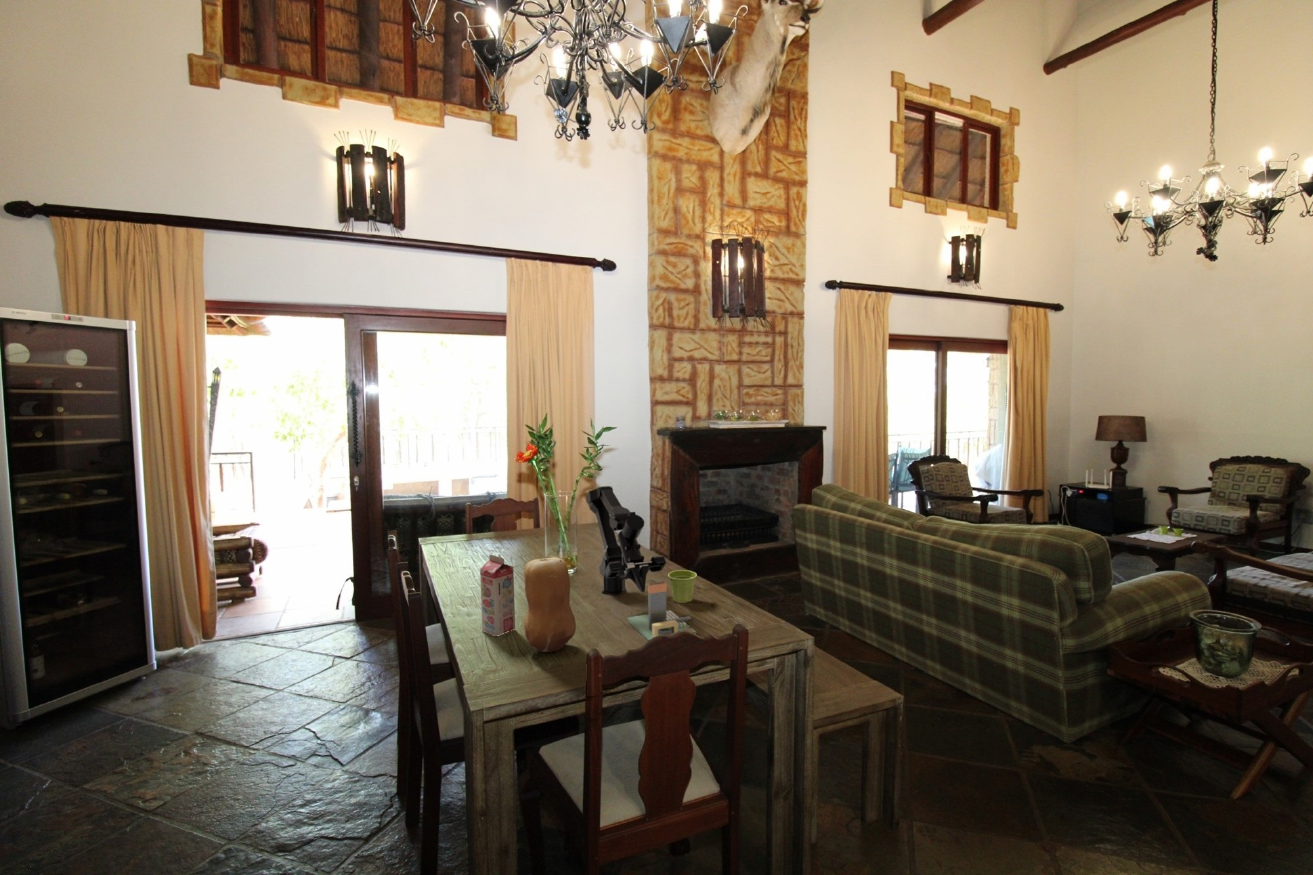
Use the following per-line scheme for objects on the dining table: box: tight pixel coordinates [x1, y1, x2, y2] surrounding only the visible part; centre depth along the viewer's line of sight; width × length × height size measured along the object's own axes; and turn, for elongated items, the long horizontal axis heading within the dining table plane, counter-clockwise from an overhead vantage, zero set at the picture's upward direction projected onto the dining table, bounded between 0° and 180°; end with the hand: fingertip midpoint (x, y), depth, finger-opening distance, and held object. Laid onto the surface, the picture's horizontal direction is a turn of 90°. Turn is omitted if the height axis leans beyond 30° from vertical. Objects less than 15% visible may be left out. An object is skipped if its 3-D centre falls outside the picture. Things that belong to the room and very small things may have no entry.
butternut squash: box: [523, 557, 577, 653], centre depth 162 cm, size 14×13×25 cm
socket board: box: [627, 610, 697, 641], centre depth 178 cm, size 18×14×4 cm
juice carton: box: [479, 554, 516, 636], centre depth 176 cm, size 7×7×22 cm
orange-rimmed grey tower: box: [647, 581, 692, 635], centre depth 173 cm, size 8×13×13 cm, turn 114°
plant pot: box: [667, 569, 698, 604], centre depth 200 cm, size 9×9×9 cm
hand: (643, 591), depth 184 cm, fingers closed
